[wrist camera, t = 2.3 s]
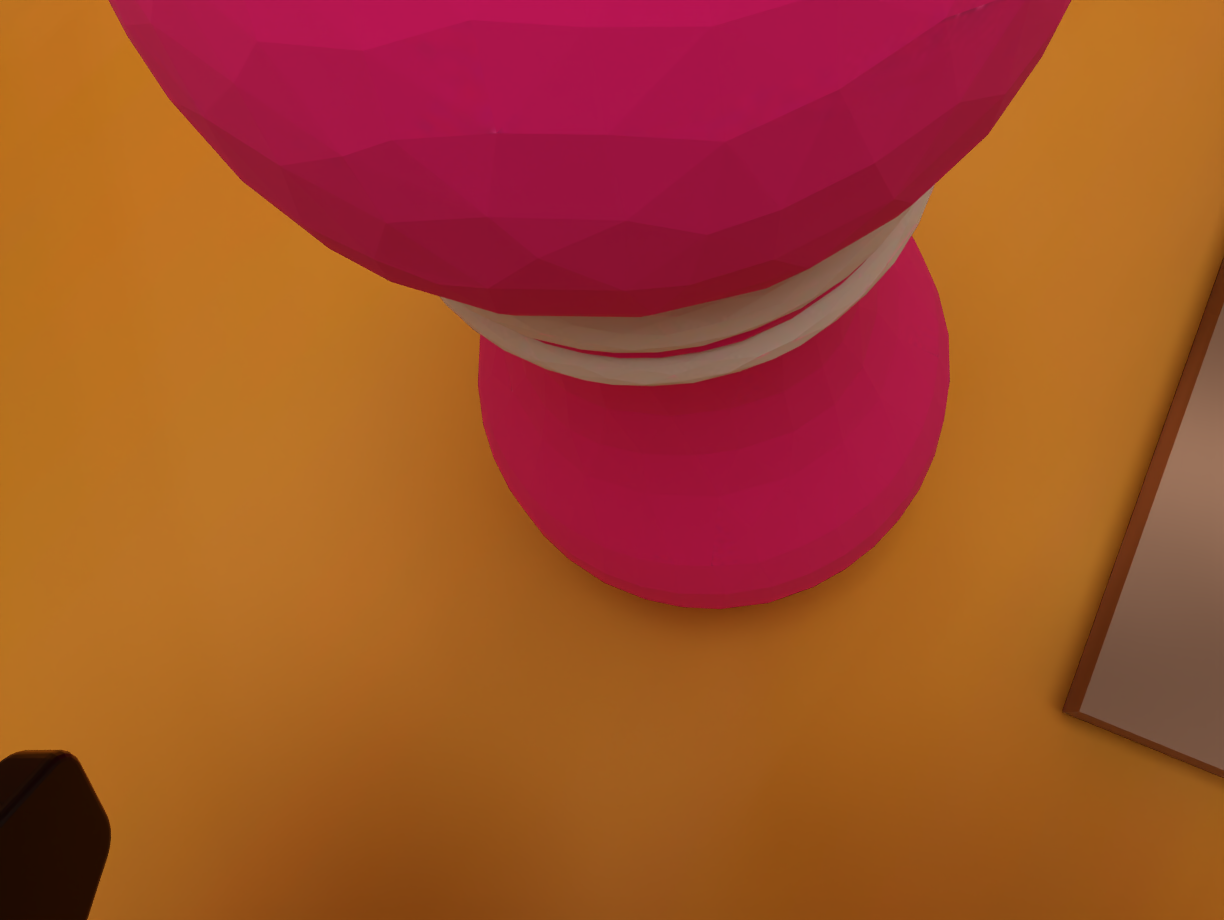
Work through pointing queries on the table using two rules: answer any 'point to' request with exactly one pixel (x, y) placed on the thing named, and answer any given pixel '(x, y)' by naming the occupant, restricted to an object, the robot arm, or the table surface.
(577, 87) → the pepper mill
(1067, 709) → the flat brown board
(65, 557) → the table surface
